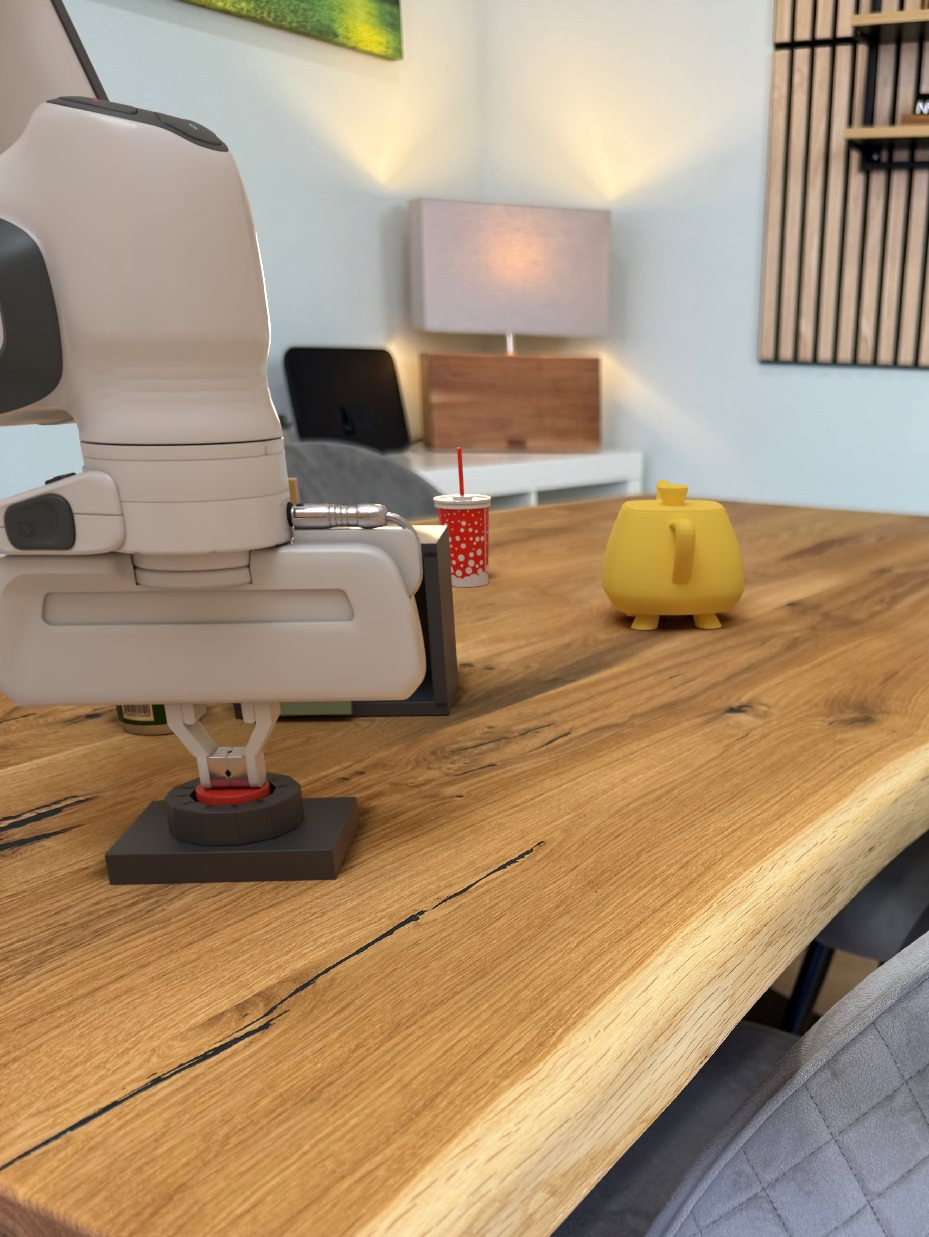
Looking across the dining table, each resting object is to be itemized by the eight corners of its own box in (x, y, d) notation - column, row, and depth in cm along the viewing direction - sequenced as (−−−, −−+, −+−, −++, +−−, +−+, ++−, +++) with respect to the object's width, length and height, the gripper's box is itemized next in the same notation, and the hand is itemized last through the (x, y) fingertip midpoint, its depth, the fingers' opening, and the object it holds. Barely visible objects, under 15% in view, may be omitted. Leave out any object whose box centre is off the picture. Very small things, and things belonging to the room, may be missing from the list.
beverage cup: (460, 576, 144) (452, 444, 139) (506, 581, 142) (499, 446, 136) (427, 585, 139) (417, 448, 134) (474, 590, 137) (466, 451, 131)
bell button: (192, 830, 65) (186, 797, 64) (210, 806, 68) (205, 775, 68) (265, 828, 65) (260, 796, 65) (279, 805, 69) (275, 773, 68)
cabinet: (235, 718, 91) (210, 544, 86) (262, 686, 99) (241, 525, 94) (448, 715, 92) (436, 543, 87) (458, 684, 100) (448, 525, 96)
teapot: (724, 598, 134) (727, 472, 129) (758, 639, 116) (762, 495, 111) (596, 600, 132) (593, 473, 127) (610, 642, 114) (607, 496, 109)
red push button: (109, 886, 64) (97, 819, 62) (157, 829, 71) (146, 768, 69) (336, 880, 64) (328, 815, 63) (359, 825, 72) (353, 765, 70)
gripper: (424, 495, 64) (444, 762, 70) (-2, 497, 62) (54, 770, 68) (409, 511, 58) (433, 800, 64) (-60, 514, 57) (7, 810, 62)
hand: (234, 785), depth 66 cm, fingers closed, pressing on bell button
